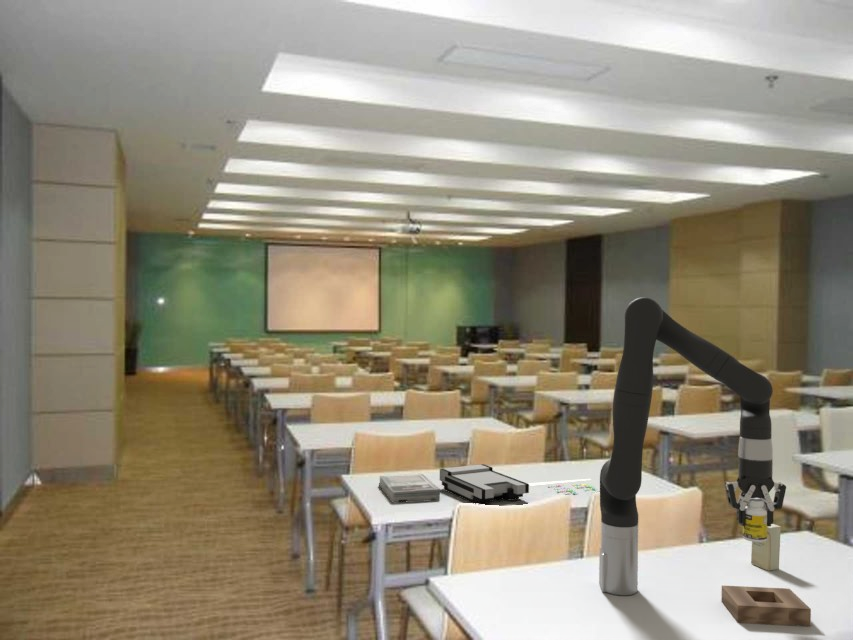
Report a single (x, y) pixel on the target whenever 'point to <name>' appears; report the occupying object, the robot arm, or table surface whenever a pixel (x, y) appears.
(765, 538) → the supplement bottle
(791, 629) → the table surface
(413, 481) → the hard drive
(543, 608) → the table surface
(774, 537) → the skincare box
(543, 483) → the printed paper
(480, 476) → the game console
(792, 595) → the walnut socket board
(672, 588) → the table surface
